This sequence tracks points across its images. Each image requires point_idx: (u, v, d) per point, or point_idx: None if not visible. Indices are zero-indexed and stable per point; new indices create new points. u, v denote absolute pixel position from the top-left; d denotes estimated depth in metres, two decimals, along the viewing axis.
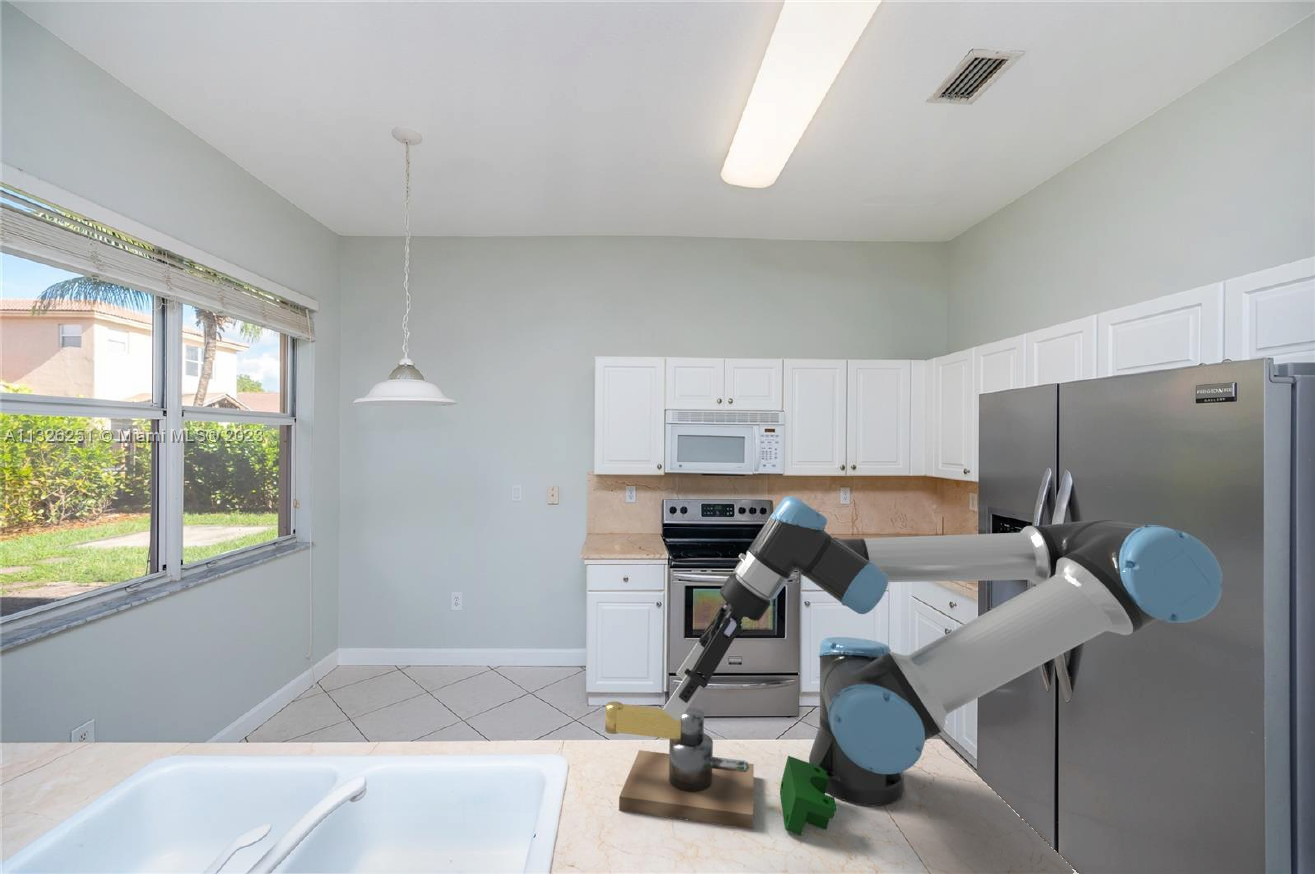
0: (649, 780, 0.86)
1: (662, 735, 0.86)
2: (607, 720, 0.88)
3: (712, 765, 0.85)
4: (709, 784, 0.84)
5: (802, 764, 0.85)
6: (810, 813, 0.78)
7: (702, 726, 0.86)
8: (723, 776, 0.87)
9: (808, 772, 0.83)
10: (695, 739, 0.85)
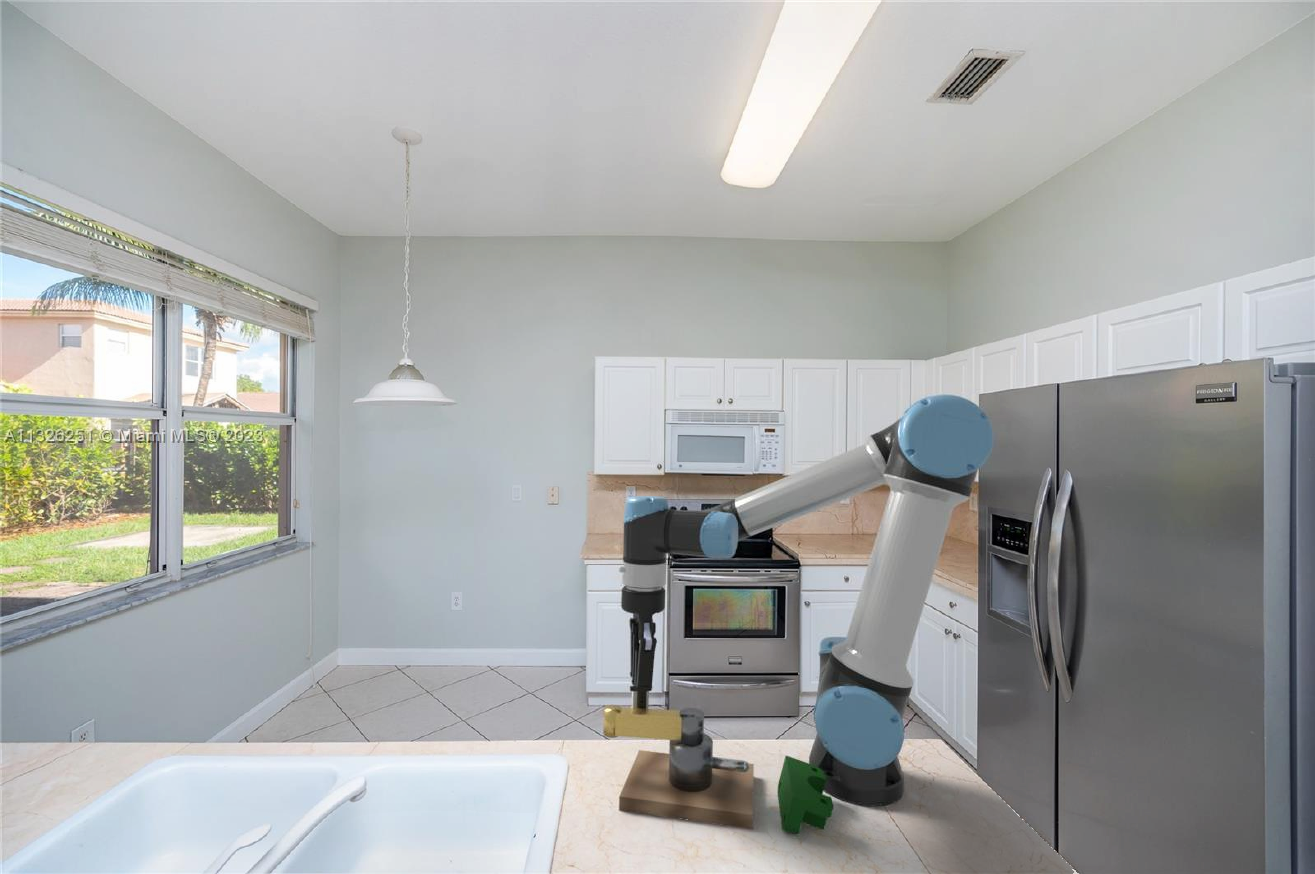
0: (649, 780, 0.86)
1: (662, 736, 0.86)
2: (606, 724, 0.87)
3: (712, 765, 0.85)
4: (709, 784, 0.84)
5: (799, 763, 0.86)
6: (807, 813, 0.78)
7: (702, 725, 0.86)
8: (723, 776, 0.87)
9: (806, 772, 0.83)
10: (696, 739, 0.85)
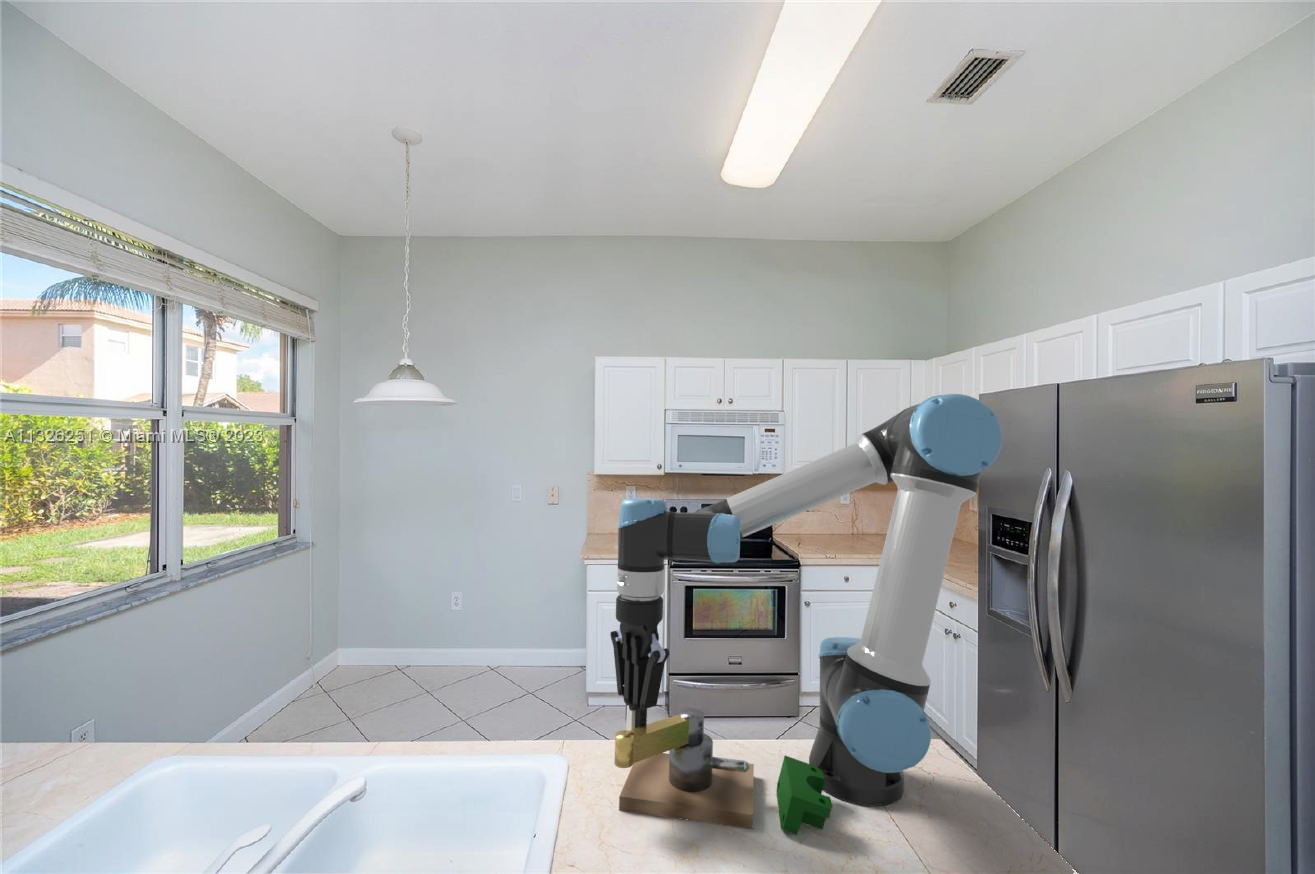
0: (649, 780, 0.86)
1: (674, 746, 0.83)
2: (624, 754, 0.78)
3: (712, 765, 0.85)
4: (709, 784, 0.84)
5: (798, 763, 0.86)
6: (806, 813, 0.78)
7: None
8: (723, 776, 0.87)
9: (805, 772, 0.83)
10: (702, 736, 0.86)
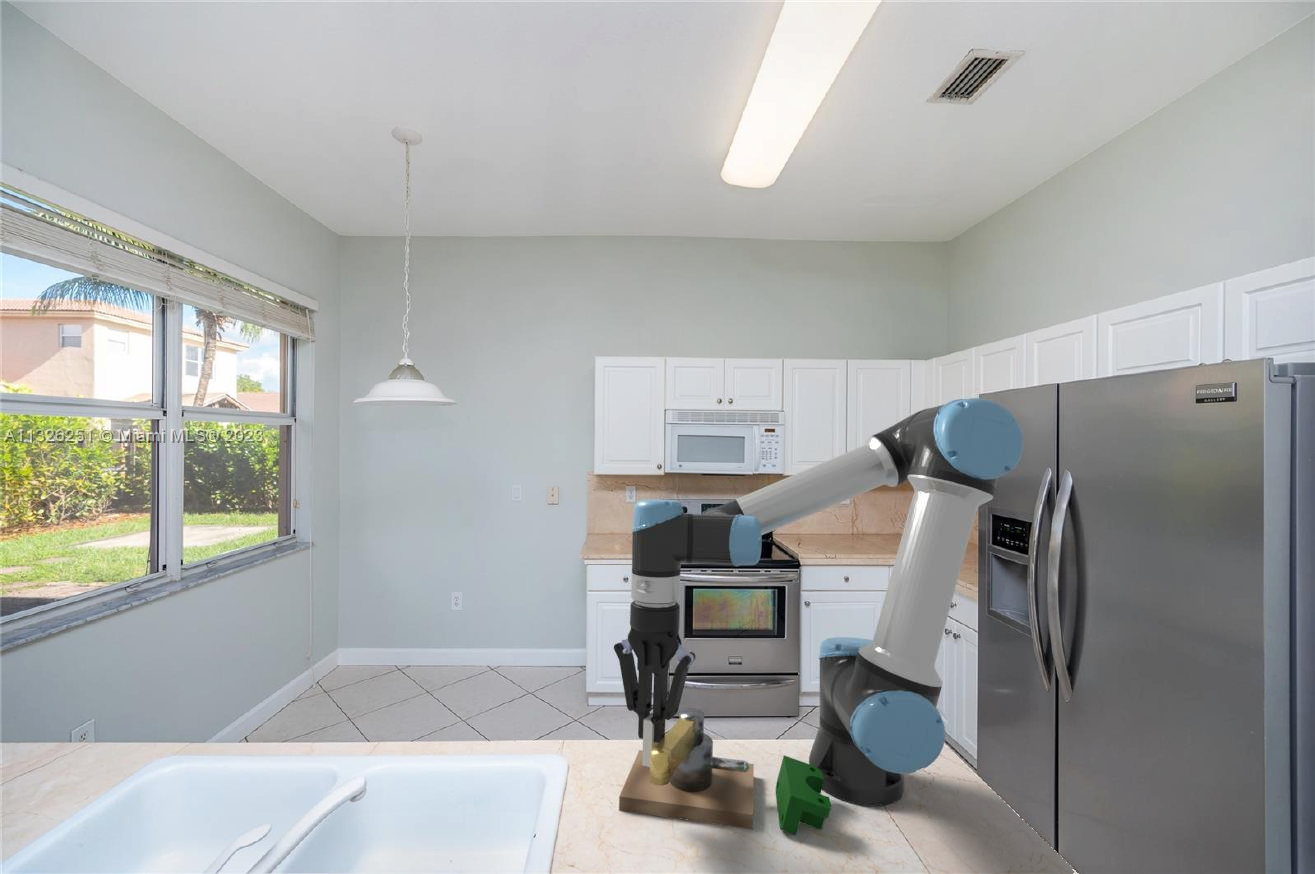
0: (649, 780, 0.86)
1: (688, 749, 0.82)
2: (665, 770, 0.74)
3: (712, 765, 0.85)
4: (709, 784, 0.84)
5: (797, 763, 0.86)
6: (805, 813, 0.78)
7: None
8: (723, 776, 0.87)
9: (804, 772, 0.83)
10: None
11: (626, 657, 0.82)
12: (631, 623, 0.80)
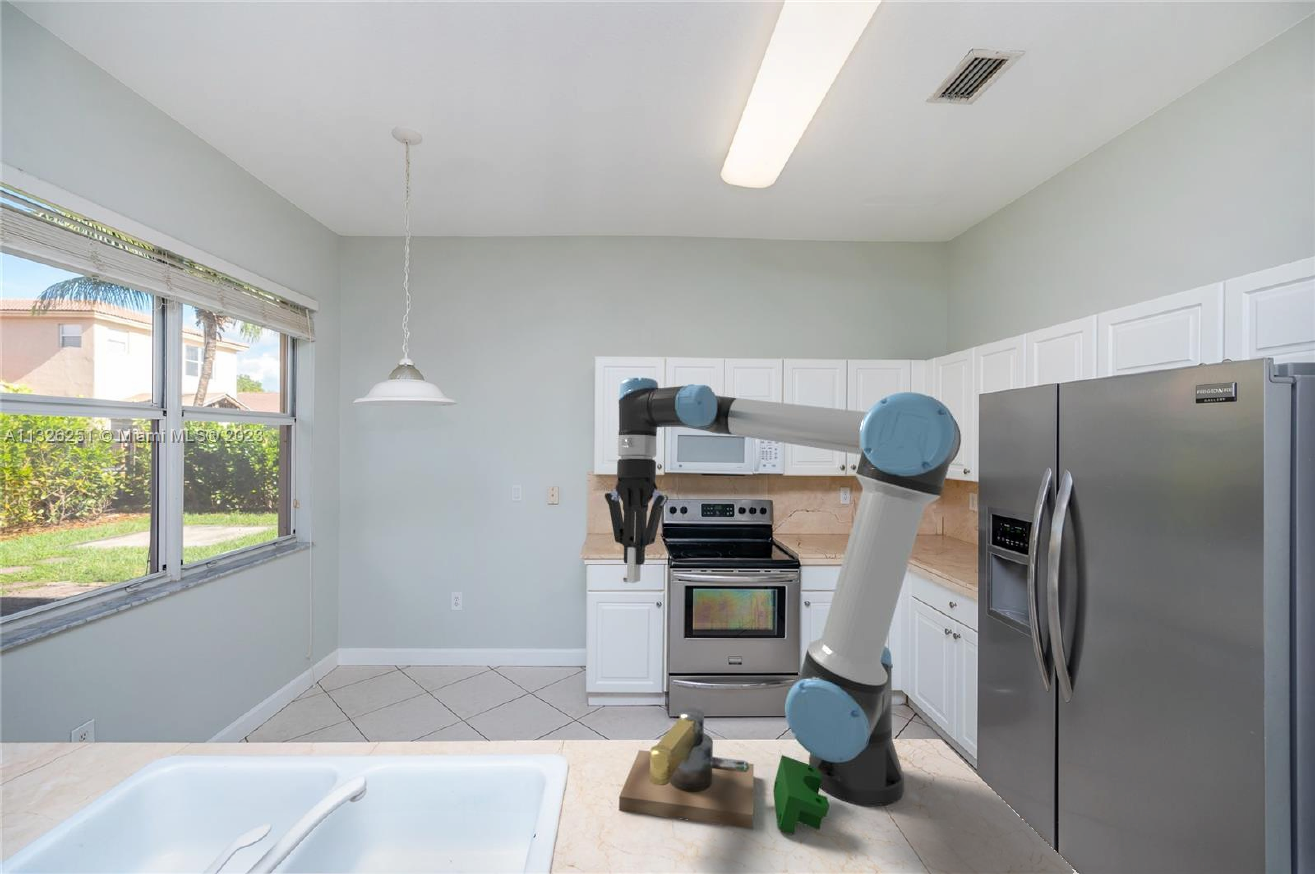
0: (649, 780, 0.86)
1: (688, 749, 0.82)
2: (665, 770, 0.74)
3: (712, 765, 0.85)
4: (709, 784, 0.84)
5: (795, 763, 0.86)
6: (803, 812, 0.78)
7: None
8: (723, 776, 0.87)
9: (802, 772, 0.83)
10: None
11: (614, 502, 1.04)
12: (618, 473, 1.02)
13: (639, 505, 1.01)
